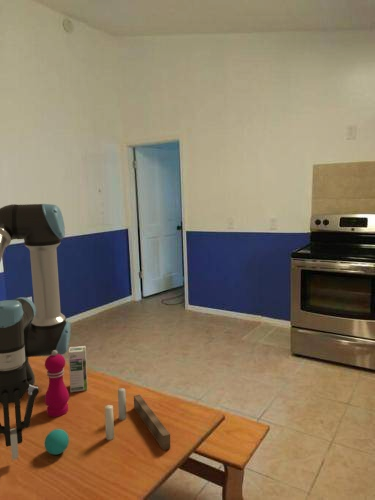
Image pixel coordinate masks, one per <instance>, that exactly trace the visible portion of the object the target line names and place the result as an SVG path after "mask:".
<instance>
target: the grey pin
mask: <svg viewBox="0 0 375 500" xmlns="http://www.w3.org/2000/svg"><path fill="white" fill-rule="evenodd" d="M117 400H118V402H117V403H118V405H117V406H118V407H117V408H118V420H120V421H125V420H126V419H127V402H126V401H127V400H126V389H125V387H124V388H123V387H121V388H119V389H117Z"/></svg>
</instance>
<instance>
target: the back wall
mask: <svg viewBox="0 0 375 500" xmlns="http://www.w3.org/2000/svg"><path fill="white" fill-rule="evenodd" d="M133 408H134V410H135V411H136V413H137V414H138V416H139V417H140V418H141V421H142V422H143V423H144V424H145V426H146V428H147V429H148V430H149V432H150V434H152V436H153V438H154V439H155V440H156V442H157V444H158V445H159V446H160V448H161V449H162V451H166V450H169V449H171V433H170V432H169V430H168V429H167V428H166V427H165V425H164V424H163V423H162V421H161V420H160V419H159V417H157V415H156V414H155V412H154V411H153V409H152V408H151V407H150V406H149V404H148V403H147V402H146V401H145V400H144V398H143V397H142V395H141V394H136V395H134V396H133Z"/></svg>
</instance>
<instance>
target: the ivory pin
mask: <svg viewBox="0 0 375 500" xmlns="http://www.w3.org/2000/svg"><path fill="white" fill-rule="evenodd" d="M104 420H105V439H106V440H107V441H112V440H114V438H115V427H114V424H115V423H114V405H112V404H107V405H105V406H104Z"/></svg>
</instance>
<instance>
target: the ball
mask: <svg viewBox="0 0 375 500" xmlns="http://www.w3.org/2000/svg"><path fill="white" fill-rule="evenodd" d="M69 442H70V438H69V435H68V433H67V432H66V431H65V430H64V429H62V428H57V429H53V430H51V431H50V432H49V433H47V435H46V437H45V438H44V448H45V450H46V452H47V453H49V454H50V455H54V456H56V455H61V454H62V453H64V452H65V450H66V449H67V448H68V446H69Z"/></svg>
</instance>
